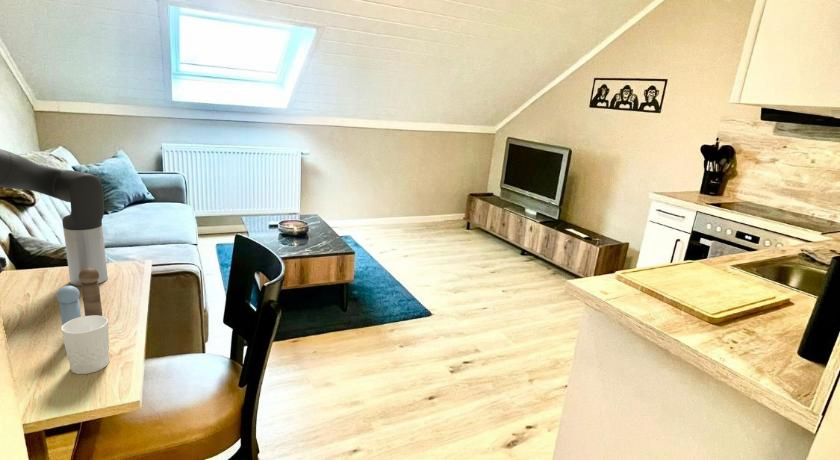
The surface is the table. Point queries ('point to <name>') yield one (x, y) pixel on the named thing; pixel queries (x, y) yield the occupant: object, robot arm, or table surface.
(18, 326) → the table surface
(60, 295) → the blue pin
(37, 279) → the table surface
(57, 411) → the table surface
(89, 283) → the walnut pin
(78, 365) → the white cup
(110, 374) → the table surface
